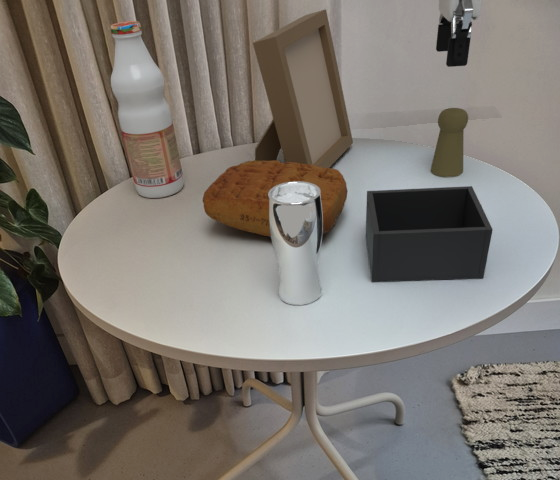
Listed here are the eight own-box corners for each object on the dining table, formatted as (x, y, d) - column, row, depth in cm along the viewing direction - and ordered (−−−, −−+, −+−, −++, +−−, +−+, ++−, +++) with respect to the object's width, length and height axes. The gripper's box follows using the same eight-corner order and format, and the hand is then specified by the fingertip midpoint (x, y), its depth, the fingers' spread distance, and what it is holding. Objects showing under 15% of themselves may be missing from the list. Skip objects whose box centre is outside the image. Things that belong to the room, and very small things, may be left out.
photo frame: (353, 147, 121) (354, 9, 104) (312, 190, 106) (307, 37, 90) (289, 141, 126) (281, 8, 110) (242, 181, 112) (225, 35, 95)
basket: (464, 232, 91) (472, 185, 86) (483, 278, 81) (492, 229, 76) (365, 236, 92) (366, 190, 87) (371, 282, 82) (373, 234, 77)
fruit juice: (149, 204, 107) (109, 33, 88) (128, 188, 113) (87, 25, 95) (193, 189, 111) (163, 21, 92) (171, 174, 117) (139, 15, 98)
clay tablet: (199, 238, 95) (191, 192, 90) (240, 194, 107) (234, 151, 102) (326, 254, 89) (325, 205, 83) (355, 205, 100) (356, 160, 95)
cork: (423, 171, 109) (429, 111, 102) (442, 161, 112) (449, 102, 105) (450, 179, 106) (458, 117, 98) (469, 169, 108) (478, 108, 101)
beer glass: (318, 276, 84) (315, 177, 74) (329, 302, 79) (328, 199, 69) (271, 283, 83) (262, 184, 74) (280, 310, 78) (271, 208, 68)
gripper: (507, -69, 77) (485, 70, 88) (478, -79, 90) (463, 44, 101) (450, -65, 78) (436, 73, 89) (430, -75, 90) (420, 47, 102)
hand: (450, 57), depth 95 cm, fingers open, 9 cm apart
